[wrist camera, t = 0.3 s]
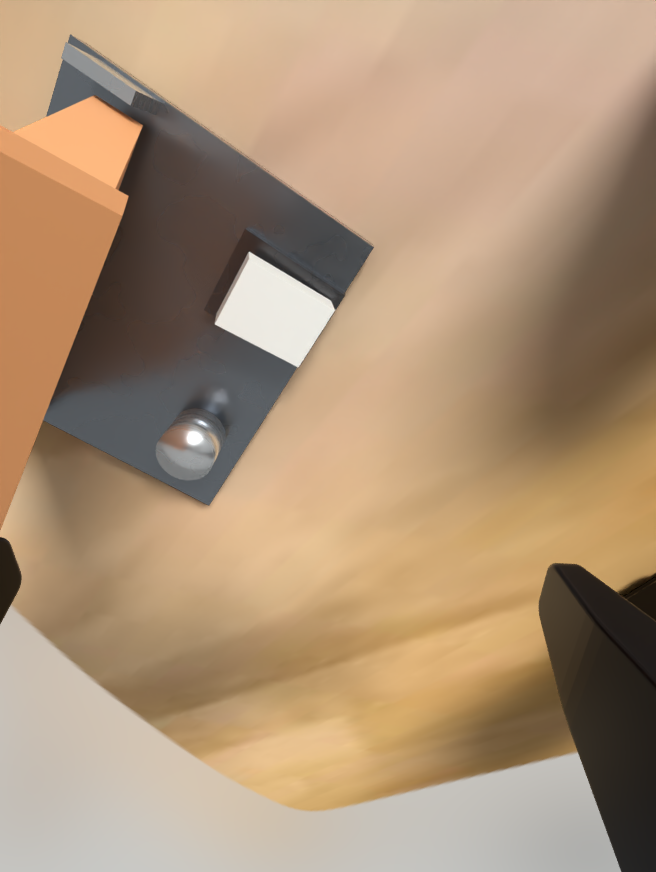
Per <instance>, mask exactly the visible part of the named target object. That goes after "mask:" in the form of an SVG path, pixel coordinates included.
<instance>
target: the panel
mask: <svg viewBox="0 0 656 872" xmlns="http://www.w3.org/2000/svg"><path fill="white" fill-rule="evenodd" d="M62 59H63V61H62V64H61V68H60V71H59V75H58V78H57V82H56V85H55V88H54V92H53V95H52V99H51V102H50V106H49V109H48V112H47V116H46V117H48V116H50V115H52V114H54V113H56V112H59V111H61V110H63V109H65V108H67V107H70V106H72V105H74V104H76V103H78V102H81V101H83V100H85V99H87V98H89V97H92V96H94V95H96V96H98V97H99V98H101V99H102V100H104V101H106V102H107V103H109V104H110V105H112V106H113V107H115V108H117V109H118V110H120V111H121V112H123V113H125V114H126V115H128V116H129V117H131V118H132V119H134V120H136V121H137V122H139V123H140V124H142V125H143V127H142V129H141V132H140V135H139V137H138V140H137V142H136V145H135V148H134V150H133V153H132V156H131V158H130V161H129V164H128V166H127V169H126V172H125V174H124V177H123V180H122V182H121V185H120V188H119V191H120V192H122V193H124V194H126V195H128V196H129V197H128V200H127V203H126V206H125V210H124V213H123V216H122V218H121V221H120V224H119V226H118V229H117V231H116V234H115V236H114V239H113V242H112V244H111V247H110V249H109V252H108V255H107V257H106V260H105V262H104V265H103V267H102V270H101V273H100V275H99V278H98V280H97V283H96V285H95V288H94V291H93V293H92V296H91V298H90V301H89V303H88V306H87V309H86V311H85V314H84V316H83V319H82V321H81V324H80V327H79V329H78V332H77V334H76V337H75V339H74V342H73V345H72V347H71V350H70V352H69V355H68V357H67V360H66V363H65V365H64V368H63V370H62V373H61V375H60V378H59V381H58V383H57V386H56V388H55V391H54V393H53V396H52V399H51V401H50V404H49V406H48V409H47V411H46V414H45V417H44V419H43V421H45V422H47V423H49V424H51V425H53V426H55V427H57V428H59V429H61V430H63V431H65V432H67V433H69V434H71V435H72V436H74V437H76V438H78V439H80V440H82V441H84V442H86V443H88V444H90V445H92V446H94V447H96V448H98V449H100V450H102V451H104V452H106V453H107V454H109V455H111V456H113V457H115V458H117V459H119V460H121V461H123V462H125V463H127V464H129V465H131V466H133V467H135V468H137V469H139V470H141V471H143V472H144V473H146V474H148V475H150V476H152V477H154V478H156V479H158V480H160V481H162V482H164V483H166V484H168V485H170V486H172V487H174V488H176V489H178V490H179V491H181V492H183V493H185V494H187V495H189V496H191V497H193V498H195V499H197V500H199V501H201V502H203V503H205V504H207V505H210V503H211V502H212V500H213V498H214V497H215V495H216V494H217V492H218V491H219V489H220V487H221V486H222V484H223V483H224V481H225V480H226V478H227V477H228V475H229V473H230V472H231V470H232V469H233V467H234V466H235V464H236V462H237V461H238V459H239V458H240V456H241V455H242V453H243V451H244V450H245V448H246V447H247V445H248V444H249V442H250V440H251V439H252V437H253V436H254V434H255V433H256V431H257V429H258V428H259V426H260V425H261V423H262V422H263V420H264V419H265V417H266V415H267V414H268V412H269V411H270V409H271V408H272V406H273V404H274V403H275V401H276V400H277V398H278V397H279V395H280V393H281V392H282V390H283V389H284V387H285V386H286V384H287V382H288V381H289V379H290V378H291V376H292V375H293V373H294V371H295V370H296V368H297V367H296V366H295V365H293V364H291V363H289V362H287V361H285V360H283V359H281V358H279V357H277V356H275V355H273V354H271V353H269V352H267V351H265V350H264V349H262V348H260V347H258V346H256V345H254V344H252V343H250V342H248V341H246V340H244V339H242V338H240V337H238V336H236V335H234V334H233V333H231V332H229V331H227V330H225V329H223V328H221V327H219V326H217V325H215V319H216V314H217V312H218V310H219V308H220V306H221V304H222V302H223V300H224V298H225V296H226V295H227V293H228V291H229V289H230V287H231V285H232V283H233V281H234V279H235V277H236V275H237V273H238V272H239V270H240V268H241V266H242V264H243V262H244V260H245V258H246V256H247V254H248V252H251V253H252V254H254V255H256V256H257V257H259V258H261V259H262V260H264V261H266V262H267V263H269V264H271V265H272V266H274V267H276V268H277V269H279V270H281V271H282V272H284V273H286V274H287V275H289V276H291V277H292V278H294V279H296V280H297V281H299V282H301V283H302V284H304V285H306V286H307V287H309V288H311V289H312V290H314V291H316V292H317V293H319V294H321V295H322V296H324V297H326V298H327V299H329V300H331V302H332V304H333V306H334V309H335V310H336V309H337V307H338V306H339V304H340V302H341V301H342V299H343V298H344V296H345V292H346V290H347V288H348V287H349V285H350V284H351V282H352V281H353V279H354V277H355V276H356V274H357V273H358V271H359V270H360V268H361V266H362V265H363V263H364V262H365V260H366V259H367V257H368V256H369V254H370V252H371V251H372V249H373V248H374V247H373V244H371V243H370V242H368V241H367V240H365V239H364V238H363V237H361V236H360V235H358V234H357V233H355V232H354V231H353V230H351V229H350V228H348V227H347V226H346V225H344V224H343V223H341V222H340V221H338V220H337V219H336V218H334V217H333V216H331V215H330V214H328V213H327V212H326V211H324V210H323V209H321V208H320V207H318V206H317V205H316V204H314V203H313V202H311V201H310V200H309V199H307V198H306V197H304V196H303V195H301V194H300V193H299V192H297V191H296V190H294V189H293V188H291V187H290V186H289V185H287V184H286V183H284V182H283V181H281V180H280V179H279V178H277V177H276V176H274V175H273V174H272V173H270V172H269V171H267V170H266V169H264V168H263V167H262V166H260V165H259V164H257V163H256V162H254V161H253V160H252V159H250V158H249V157H247V156H246V155H245V154H243V153H242V152H240V151H239V150H237V149H236V148H235V147H233V146H232V145H230V144H229V143H227V142H226V141H225V140H223V139H222V138H220V137H219V136H217V135H216V134H215V133H213V132H212V131H210V130H209V129H208V128H206V127H205V126H203V125H202V124H200V123H199V122H198V121H196V120H195V119H193V118H192V117H190V116H189V115H188V114H186V113H185V112H183V111H182V110H180V109H179V108H178V107H176V106H175V105H173V104H172V103H171V102H169V101H168V100H166V99H165V98H163V97H162V96H161V95H159V94H158V93H156V92H155V91H153V90H152V89H151V88H149V87H148V86H146V85H145V84H143V83H142V82H141V81H139V80H138V79H136V78H135V77H134V76H132V75H131V74H129V73H128V72H126V71H125V70H124V69H122V68H121V67H119V66H118V65H116V64H115V63H114V62H112V61H111V60H109V59H108V58H107V57H105V56H104V55H102V54H101V53H99V52H98V51H97V50H95V49H94V48H92V47H91V46H89V45H88V44H87V43H85V42H83V41H81V40H79V39H78V38H76V37H74V36H72V35H70V37H69V41H68V43H67V42H66V44H65V47H64V51H63V54H62ZM334 312H335V311H334ZM332 315H333V314H332ZM330 318H331V317H330ZM329 320H330V319H329ZM329 320H328V321H329ZM327 323H328V322H327ZM325 326H326V325H325ZM323 329H324V328H323ZM322 331H323V330H322ZM322 331H321V332H322ZM320 334H321V333H320ZM318 337H319V336H318ZM316 340H317V339H316ZM314 343H315V342H314ZM313 345H314V344H313ZM313 345H312V346H313ZM311 348H312V347H311ZM309 351H310V350H309ZM307 354H308V353H307ZM306 356H307V355H306ZM306 356H305V357H306ZM304 359H305V358H304ZM302 362H303V361H302ZM300 365H301V364H300ZM298 368H299V367H298ZM190 408H201V409H205V410H208V411H210V412H212V413H213V414H214V415H216V416H217V417H218V418H219V419H220V420H221V422H222V424H223V426H224V428H225V433H226V437H225V442H224V444H223V446H222V448H221V450H220V452H219V454H218V456H217V458H216V460H215V462H214V464H213V466H212V468H211V470H210V471H209V473H208V474H207V475H205V476H204V477H202V478H200V479H197V480H181V479H178V478H175V477H173V476H171V475H170V474H168V473H167V472H166V471H165V470H164V469H163V468H162V467H161V466H160V464H159V462H158V460H157V457H156V445H157V443H158V441H159V439H160V438H161V437H162V435H163V434H164V433H165V431H166V430H167V429H168V428H169V426H170V425H171V424H172V422H173V421H174V420H175V418H176V417H177V416H178V415H179V414H180V413H181V412H183V411H184V410H187V409H190Z"/></svg>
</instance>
